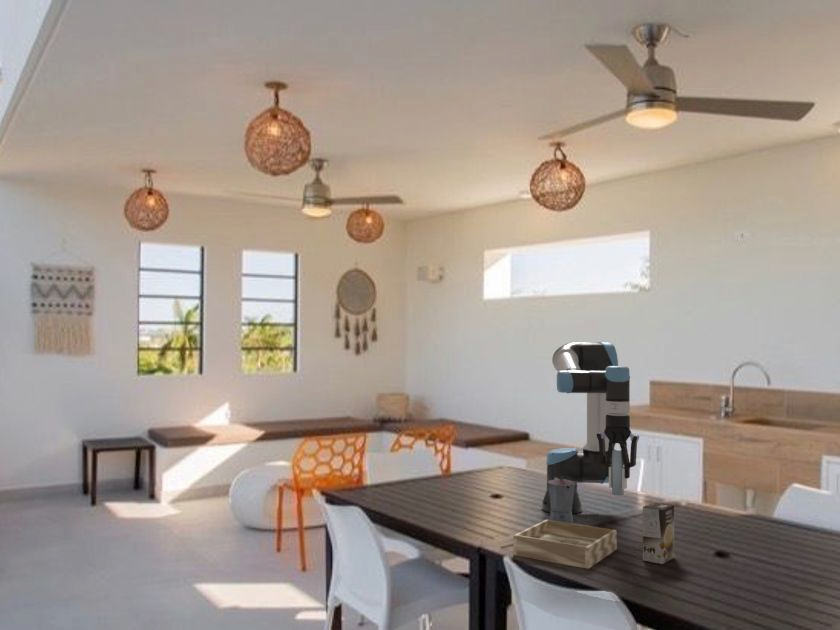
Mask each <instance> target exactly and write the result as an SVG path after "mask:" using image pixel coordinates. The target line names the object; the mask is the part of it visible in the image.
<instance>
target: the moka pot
mask: <svg viewBox="0 0 840 630" xmlns="http://www.w3.org/2000/svg"><path fill="white" fill-rule="evenodd" d="M559 477H560V479H559V478H556V477H555V476H553V479H552V480H550V481H548V487H549V496H550V504H551V511H550V512H549V519H548V520H552V521H559V522H566V523H572V524H574V518H573V517H574V516H573V514H572V511H571V510H572V505H573V497H574V489H575V482H574V481H570V480H566V479H563V477H564V475H562V474H560V475H559Z"/></svg>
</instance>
